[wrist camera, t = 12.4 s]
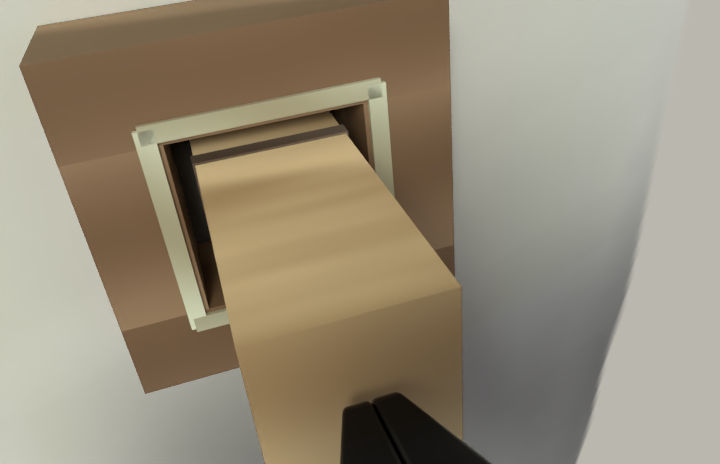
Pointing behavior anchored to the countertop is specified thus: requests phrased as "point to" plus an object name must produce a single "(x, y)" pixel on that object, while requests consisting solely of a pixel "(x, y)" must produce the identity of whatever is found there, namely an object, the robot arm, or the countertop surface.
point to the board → (223, 114)
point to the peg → (324, 285)
